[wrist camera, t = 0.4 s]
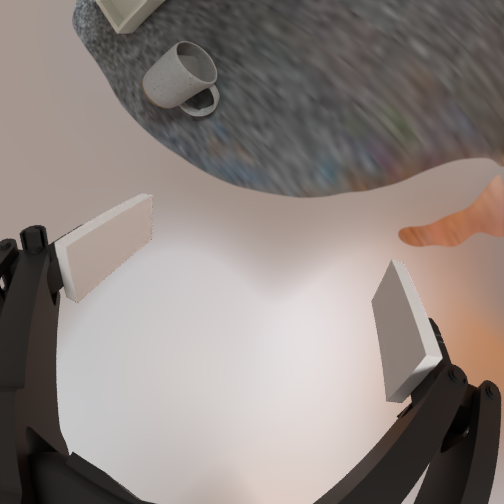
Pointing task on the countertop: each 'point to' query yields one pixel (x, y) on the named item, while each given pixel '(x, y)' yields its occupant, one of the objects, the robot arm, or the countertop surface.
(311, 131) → the countertop surface
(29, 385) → the robot arm
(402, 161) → the countertop surface
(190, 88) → the ceramic mug
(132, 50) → the countertop surface
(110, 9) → the sage tray
